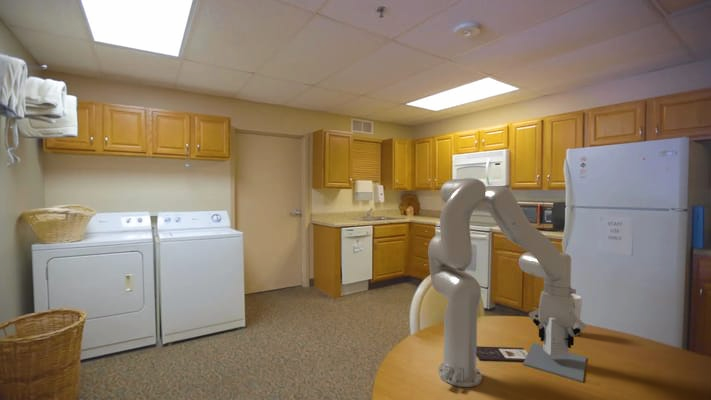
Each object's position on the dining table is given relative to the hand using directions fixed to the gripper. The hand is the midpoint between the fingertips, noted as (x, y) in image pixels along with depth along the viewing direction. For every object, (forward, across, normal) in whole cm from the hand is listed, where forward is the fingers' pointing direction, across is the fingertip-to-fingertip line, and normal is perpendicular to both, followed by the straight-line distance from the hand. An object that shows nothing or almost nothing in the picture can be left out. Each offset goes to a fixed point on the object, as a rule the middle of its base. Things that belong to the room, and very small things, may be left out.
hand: (555, 342), depth 108 cm
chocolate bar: (+7, +15, +6) cm, 18 cm away
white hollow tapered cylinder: (+7, -2, -29) cm, 30 cm away
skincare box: (+3, 0, 0) cm, 3 cm away
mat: (+6, 0, 0) cm, 6 cm away
